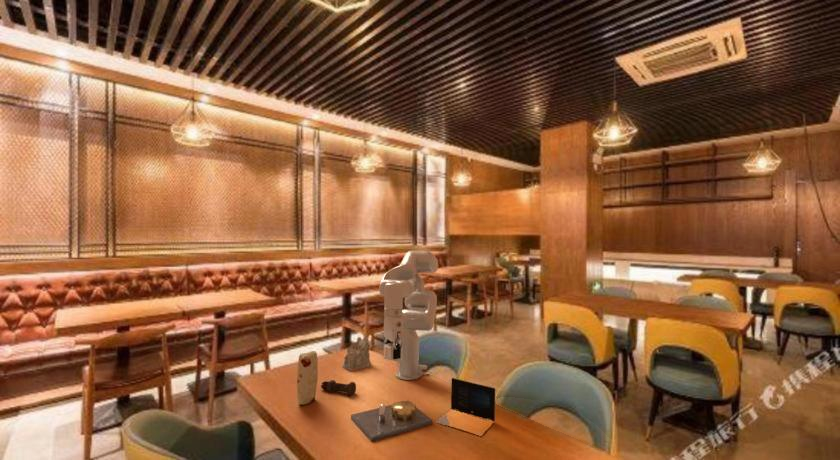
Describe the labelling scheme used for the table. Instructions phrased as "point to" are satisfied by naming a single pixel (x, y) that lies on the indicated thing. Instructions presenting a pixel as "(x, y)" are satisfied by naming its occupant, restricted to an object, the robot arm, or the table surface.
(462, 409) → the laptop
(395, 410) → the sun gear
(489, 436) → the table surface
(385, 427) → the carrier plate
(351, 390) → the bolt
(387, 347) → the planet gear
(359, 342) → the grey jagged tapered piece
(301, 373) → the food model
